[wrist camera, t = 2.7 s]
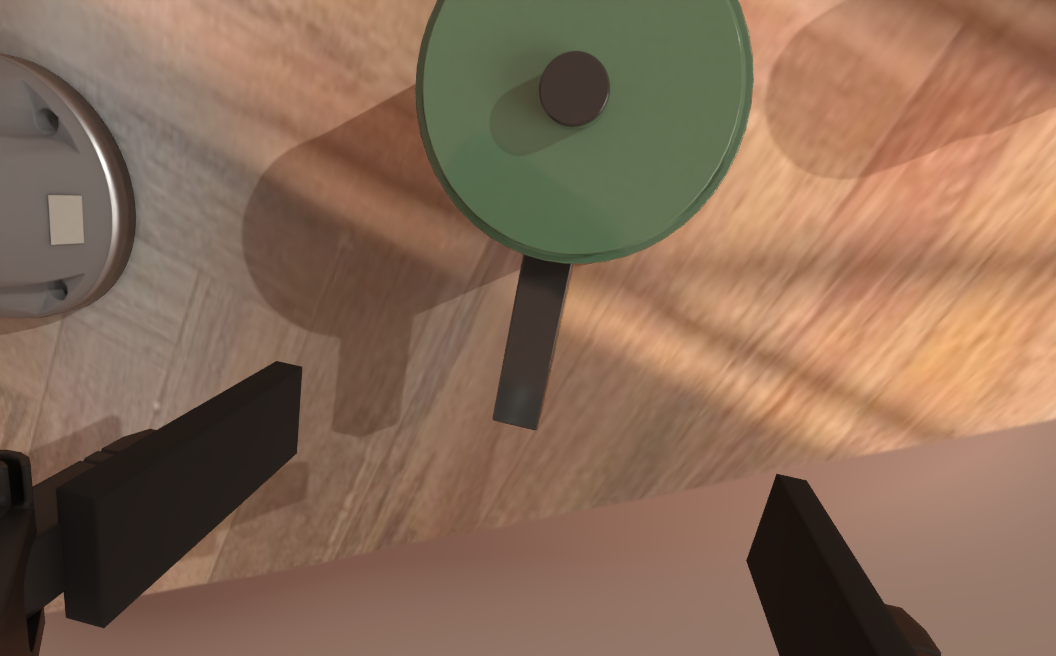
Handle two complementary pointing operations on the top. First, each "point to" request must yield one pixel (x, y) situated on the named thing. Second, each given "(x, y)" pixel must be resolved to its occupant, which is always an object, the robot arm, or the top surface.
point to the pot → (578, 139)
